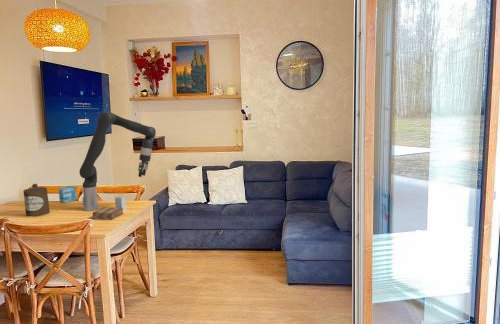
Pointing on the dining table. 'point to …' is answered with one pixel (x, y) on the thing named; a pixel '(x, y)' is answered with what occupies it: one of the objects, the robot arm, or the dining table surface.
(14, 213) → the dining table surface
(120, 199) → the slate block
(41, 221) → the dining table surface
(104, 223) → the dining table surface
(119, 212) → the walnut block
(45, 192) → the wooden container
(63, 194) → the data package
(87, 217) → the dining table surface
